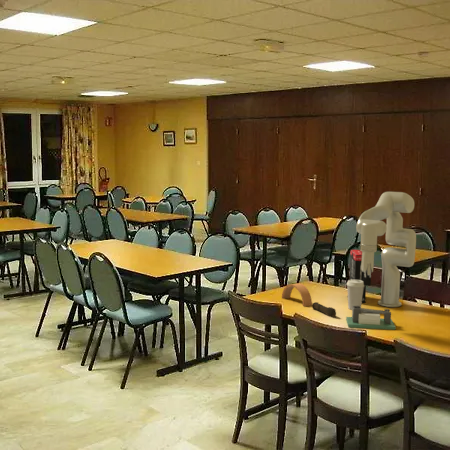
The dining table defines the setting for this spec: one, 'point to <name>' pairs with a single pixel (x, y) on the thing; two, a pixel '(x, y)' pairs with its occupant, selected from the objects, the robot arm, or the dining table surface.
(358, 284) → the coffee cup
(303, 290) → the arch
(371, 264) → the robot arm
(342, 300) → the dining table surface
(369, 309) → the steel strap
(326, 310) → the hand tool
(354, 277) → the graphics card box
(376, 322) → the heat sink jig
